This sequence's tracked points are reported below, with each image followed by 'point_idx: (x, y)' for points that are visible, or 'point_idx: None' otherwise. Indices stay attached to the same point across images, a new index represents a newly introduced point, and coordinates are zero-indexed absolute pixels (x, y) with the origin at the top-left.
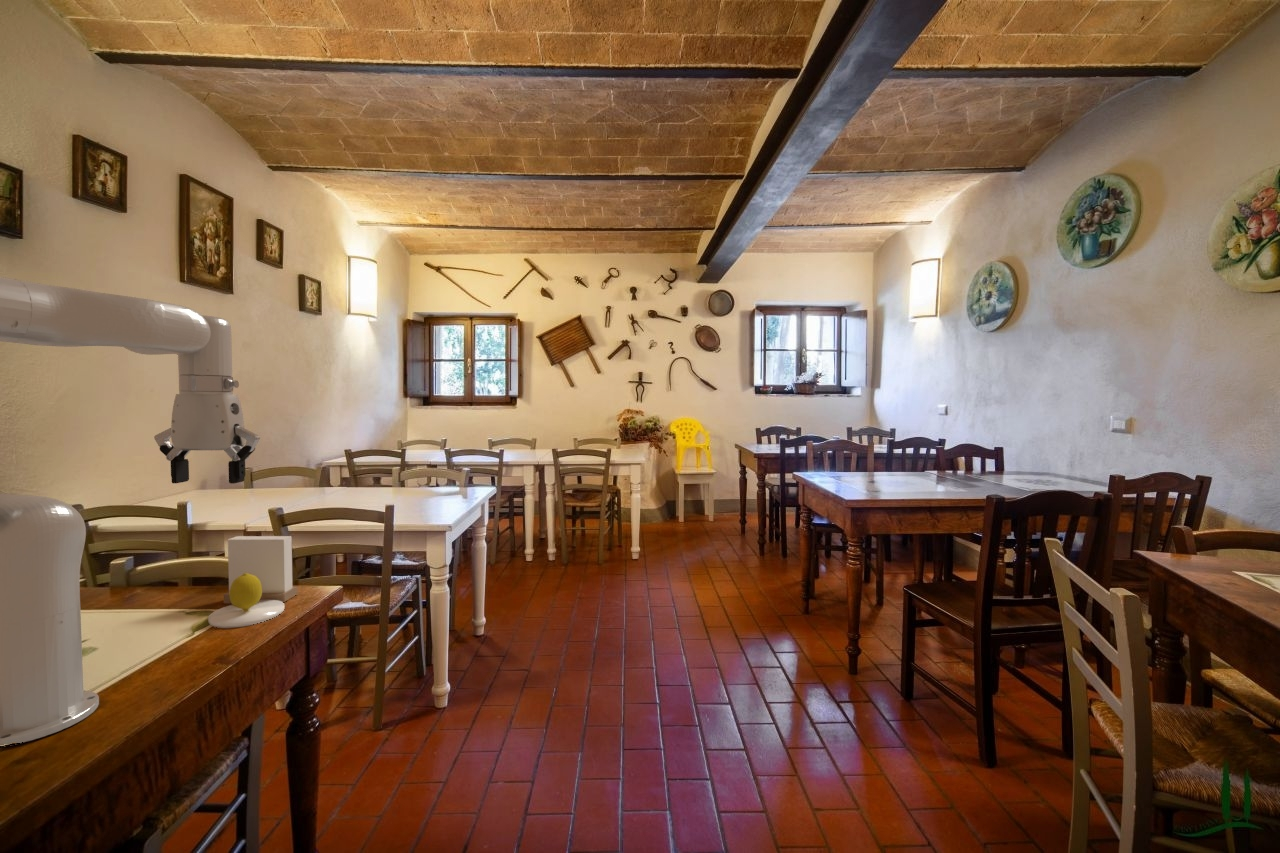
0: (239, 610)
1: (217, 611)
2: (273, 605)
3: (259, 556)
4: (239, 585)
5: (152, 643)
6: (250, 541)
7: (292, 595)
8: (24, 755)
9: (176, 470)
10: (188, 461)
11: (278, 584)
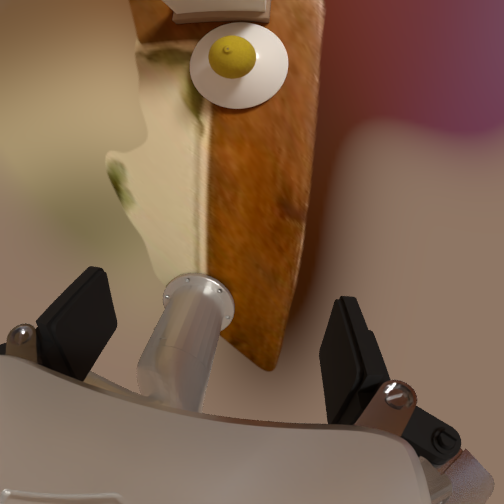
0: None
1: (194, 65)
2: (267, 46)
3: None
4: (229, 71)
5: (171, 152)
6: None
7: (270, 4)
8: (231, 338)
9: (96, 356)
10: (59, 323)
11: (254, 6)
